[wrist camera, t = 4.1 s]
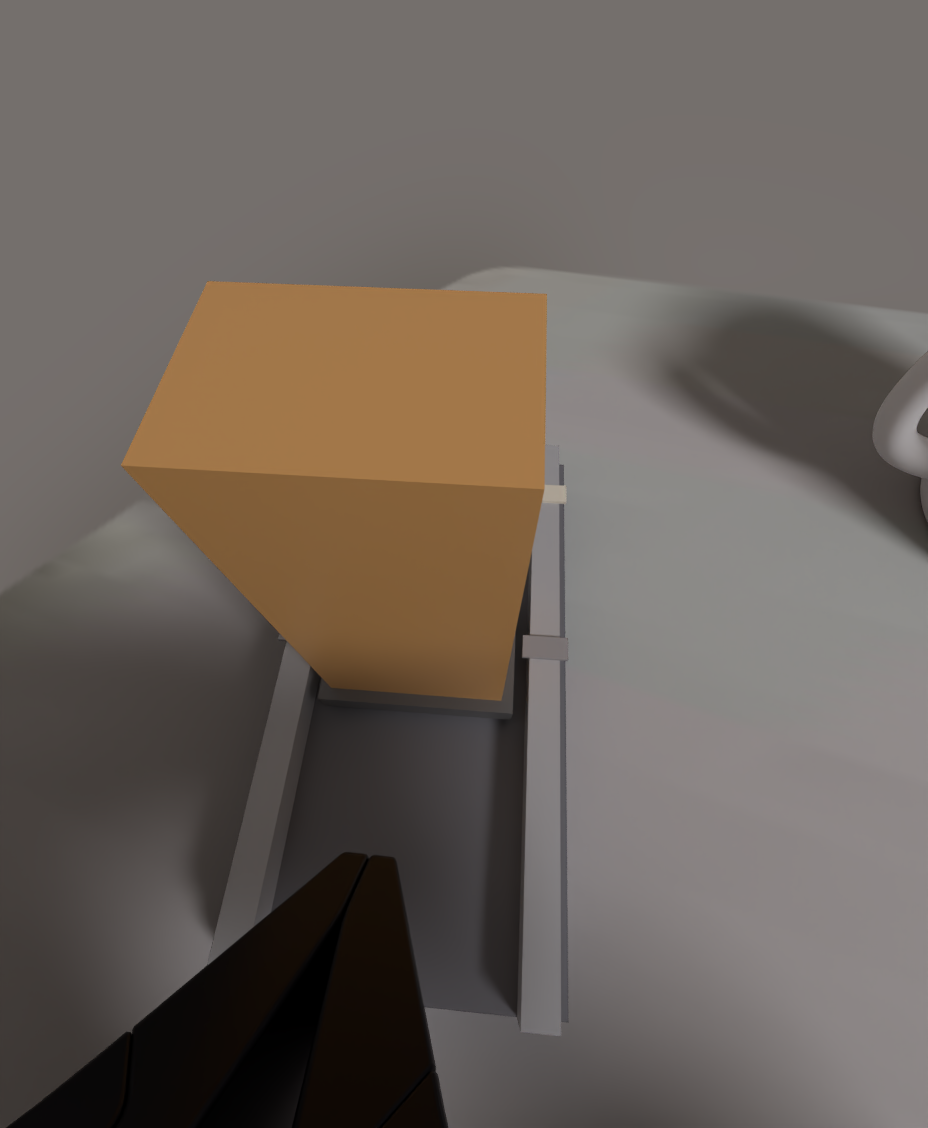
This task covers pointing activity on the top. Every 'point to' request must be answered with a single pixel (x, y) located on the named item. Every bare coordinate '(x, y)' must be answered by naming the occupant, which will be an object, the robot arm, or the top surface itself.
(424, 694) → the fader tab
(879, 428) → the cup
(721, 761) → the top surface
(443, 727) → the rail
